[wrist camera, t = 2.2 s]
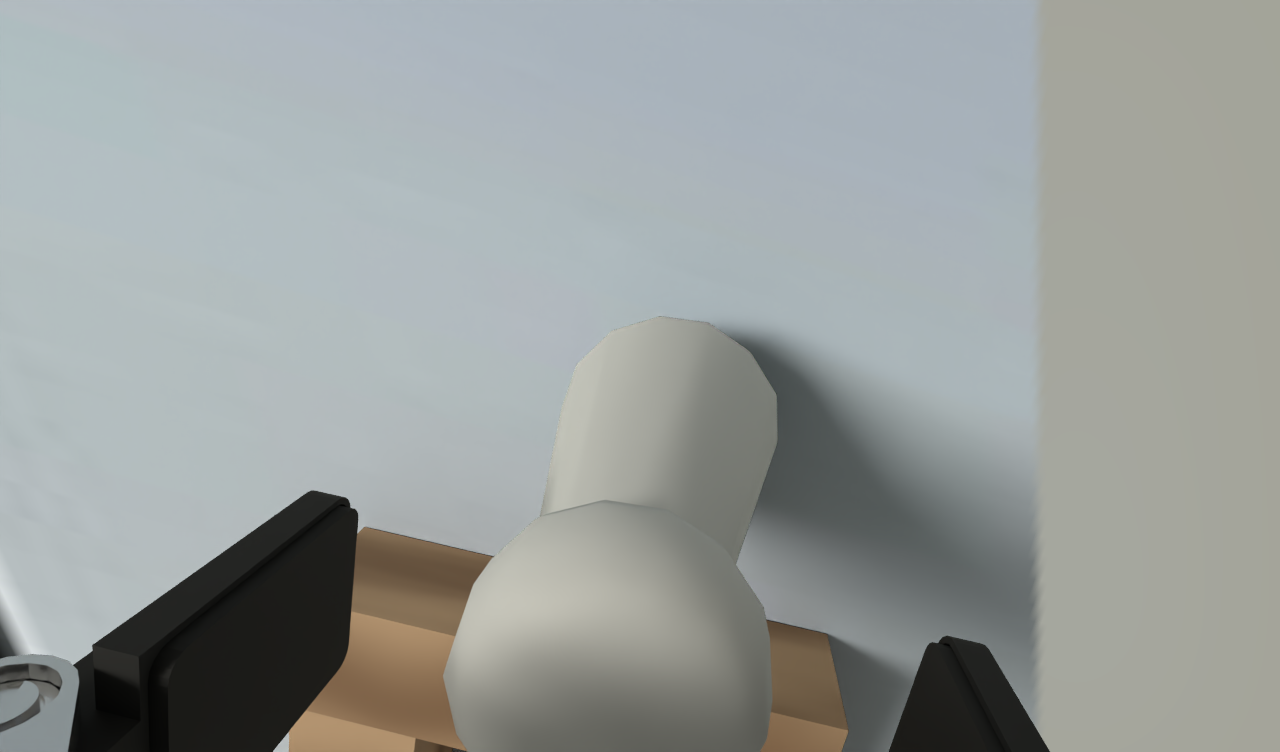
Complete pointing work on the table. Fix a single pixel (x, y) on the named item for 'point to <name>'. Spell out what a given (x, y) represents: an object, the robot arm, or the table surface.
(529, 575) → the salt shaker
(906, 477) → the table surface
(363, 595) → the brown wooden square frame
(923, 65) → the table surface
